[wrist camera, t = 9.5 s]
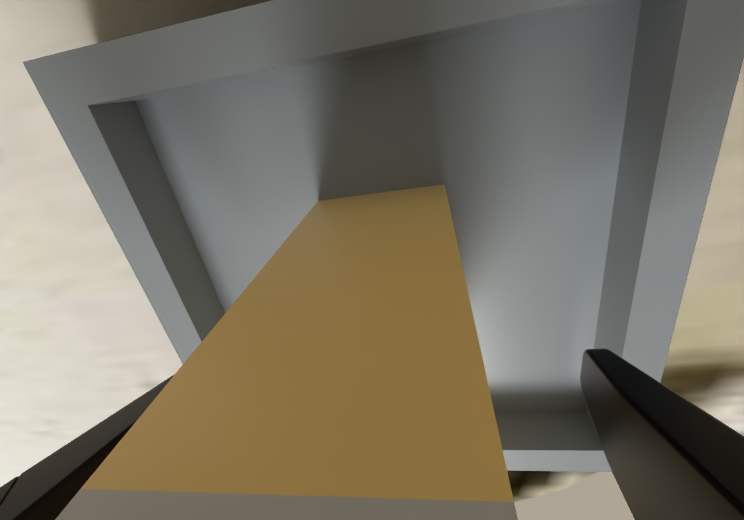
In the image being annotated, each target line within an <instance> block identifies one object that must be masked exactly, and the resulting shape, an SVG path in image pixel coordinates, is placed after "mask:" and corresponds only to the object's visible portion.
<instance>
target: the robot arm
mask: <svg viewBox="0 0 744 520" xmlns="http://www.w3.org/2000/svg"><path fill="white" fill-rule="evenodd" d="M174 375H175V374H174ZM174 375H173V376H174ZM173 376H171V377H170V378H168V379H167V380H165V381H164V382H162V383H161V384H159V385H158V386H156V387H154V388H153V389H151V390H150V391H148V392H147V393H145V394H144V395H142V396H141V397H139V398H137V399H136V400H134V401H133V402H131V403H130V404H128V405H127V406H125V407H124V408H122V409H121V410H119V411H117V412H116V413H114V414H113V415H111V416H110V417H108V418H107V419H105V420H104V421H102V422H100V423H99V424H97V425H96V426H94V427H93V428H91V429H90V430H88V431H87V432H85V433H83V434H82V435H80V436H79V437H77V438H76V439H74V440H73V441H71V442H70V443H68V444H67V445H65V446H63V447H62V448H60V449H59V450H57V451H56V452H54V453H53V454H51V455H50V456H48V457H46V458H45V459H43V460H42V461H40V462H39V463H37V464H36V465H34V466H33V467H31V468H30V469H28V470H26V471H25V472H23V473H22V474H21V475H20V477H15V478H14V479H12V480H11V481H9V482H8V483H6V484H5V485H3V486H2V487H0V520H55V519H56V518H57V517H58V516H59V514H60V513H61V512H62V511H63V510H64V508H65V507H66V506H67V505H68V503H69V502H70V501H71V500H72V499H73V497H74V496H75V495H76V494H77V493H78V491H79V490H80V489H81V488H82V486H83V485H84V484H85V483H86V482H87V480H88V479H89V478H90V477H91V476H92V474H93V473H94V472H95V471H96V470H97V468H98V467H99V466H100V465H101V463H102V462H103V461H104V460H105V459H106V457H107V456H108V455H109V454H110V453H111V451H112V450H113V449H114V448H115V446H116V445H117V444H118V443H119V442H120V440H121V439H122V438H123V437H124V436H125V434H126V433H127V432H128V431H129V430H130V428H131V427H132V426H133V425H134V423H135V422H136V421H137V420H138V419H139V417H140V416H141V415H142V414H143V413H144V411H145V410H146V409H147V408H148V406H149V405H150V404H151V403H152V402H153V400H154V399H155V398H156V397H157V396H158V394H159V393H160V392H161V391H162V390H163V388H164V387H165V386H166V385H167V383H168V382H169V381H170V380H171V379H172V377H173ZM580 383H581V388H582V391H583V394H584V397H585V400H586V402H587V405H588V408H589V411H590V414H591V417H592V420H593V422H594V425H595V428H596V431H597V434H598V437H599V439H600V442H601V445H602V448H603V451H604V453H605V456H606V459H607V461H608V463H609V466H610V468H611V470H612V472H613V475H614V477H615V479H616V481H617V483H618V485H619V487H620V489H621V491H622V493H623V496H624V498H625V500H626V502H627V504H628V506H629V508H630V510H631V512H632V514H633V517H634V519H635V520H744V436H742V435H741V434H739V433H738V432H736V431H735V430H733V429H732V428H730V427H728V426H727V425H725V424H724V423H722V422H721V421H719V420H718V419H716V418H714V417H713V416H711V415H710V414H708V413H707V412H705V411H704V410H702V409H700V408H699V407H697V406H696V405H694V404H693V403H691V402H690V401H688V400H686V399H685V398H683V397H682V396H680V395H679V394H677V393H676V392H674V391H672V390H671V389H669V388H668V387H666V386H665V385H663V384H662V383H660V382H658V381H657V380H655V379H654V378H652V377H651V376H649V375H648V374H646V373H644V372H643V371H641V370H640V369H638V368H637V367H635V366H634V365H632V364H630V363H629V362H627V361H626V360H624V359H623V358H621V357H620V356H618V355H616V354H615V353H613V352H612V351H610V350H608V349H605V348H597V349H586V350H585V351H584V353H583V357H582V366H581V374H580Z"/></svg>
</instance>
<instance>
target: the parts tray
mask: <svg viewBox="0 0 744 520" xmlns="http://www.w3.org/2000/svg"><path fill="white" fill-rule="evenodd" d="M743 57H744V0H271V1H267V2H263V3H259V4H255V5H251V6H247V7H243V8H239V9H234V10H230V11H226V12H222V13H218V14H214V15H210V16H206V17H202V18H198V19H194V20H190V21H186V22H182V23H178V24H174V25H170V26H166V27H162V28H158V29H154V30H150V31H146V32H142V33H138V34H134V35H130V36H126V37H122V38H118V39H114V40H110V41H106V42H102V43H97V44H93V45H89V46H85V47H81V48H77V49H73V50H69V51H65V52H61V53H57V54H53V55H49V56H45V57H41V58H37V59H33V60H29V61H25V62H23V64H24V65H25V67H26V69H27V71H28V73H29V75H30V77H31V79H32V80H33V82H34V84H35V86H36V88H37V90H38V92H39V94H40V96H41V97H42V99H43V101H44V103H45V105H46V107H47V109H48V111H49V113H50V114H51V116H52V118H53V120H54V122H55V124H56V126H57V128H58V130H59V131H60V133H61V135H62V137H63V139H64V141H65V143H66V145H67V147H68V148H69V150H70V152H71V154H72V156H73V158H74V160H75V162H76V163H77V165H78V167H79V169H80V171H81V173H82V175H83V177H84V179H85V180H86V182H87V184H88V186H89V188H90V190H91V192H92V194H93V196H94V197H95V199H96V201H97V203H98V205H99V207H100V209H101V211H102V213H103V214H104V216H105V218H106V220H107V222H108V224H109V226H110V228H111V230H112V231H113V233H114V235H115V237H116V239H117V241H118V243H119V245H120V246H121V248H122V250H123V252H124V254H125V256H126V258H127V260H128V262H129V263H130V265H131V267H132V269H133V271H134V273H135V275H136V277H137V279H138V280H139V282H140V284H141V286H142V288H143V290H144V292H145V294H146V296H147V297H148V299H149V301H150V303H151V305H152V307H153V309H154V311H155V313H156V314H157V316H158V318H159V320H160V322H161V324H162V326H163V328H164V329H165V331H166V333H167V335H168V337H169V339H170V341H171V343H172V345H173V346H174V348H175V350H176V352H177V354H178V356H179V358H180V360H181V362H182V363H183V364H184V363H185V362H186V360H187V359H188V358H189V357H190V356H191V354H192V353H193V352H194V351H195V350H196V348H197V347H198V346H199V345H200V343H201V342H202V341H203V340H204V339H205V337H206V336H207V335H208V334H209V333H210V331H211V330H212V329H213V328H214V326H215V325H216V324H217V323H218V322H219V320H220V319H221V318H222V317H223V316H224V314H225V313H226V312H227V311H228V310H229V308H230V307H231V306H232V305H233V303H234V302H235V301H236V300H237V299H238V297H239V296H240V295H241V294H242V293H243V291H244V290H245V289H246V288H247V286H248V285H249V284H250V283H251V282H252V280H253V279H254V278H255V277H256V276H257V274H258V273H259V272H260V271H261V270H262V268H263V267H264V266H265V265H266V263H267V262H268V261H269V260H270V259H271V257H272V256H273V255H274V254H275V253H276V251H277V250H278V249H279V248H280V246H281V245H282V244H283V243H284V242H285V240H286V239H287V238H288V237H289V236H290V234H291V233H292V232H293V231H294V229H295V228H296V227H297V226H298V225H299V223H300V222H301V221H302V220H303V219H304V217H305V216H306V215H307V214H308V213H309V211H310V210H311V209H312V208H313V206H314V205H315V204H316V203H317V202H318V201H321V200H329V199H337V198H344V197H352V196H359V195H367V194H374V193H382V192H390V191H397V190H405V189H412V188H420V187H427V186H435V185H442V184H445V188H446V193H447V197H448V202H449V206H450V211H451V216H452V220H453V225H454V229H455V234H456V239H457V243H458V248H459V252H460V257H461V262H462V266H463V271H464V275H465V280H466V285H467V289H468V294H469V298H470V303H471V308H472V312H473V317H474V321H475V326H476V331H477V335H478V340H479V344H480V349H481V354H482V358H483V363H484V367H485V372H486V377H487V381H488V386H489V390H490V395H491V400H492V404H493V409H494V413H495V418H496V423H497V427H498V432H499V436H500V441H501V446H502V450H503V455H504V459H505V464H506V469H507V470H518V471H586V472H612V470H611V468H610V466H609V463H608V461H607V459H606V456H605V453H604V451H603V448H602V445H601V442H600V439H599V437H598V434H597V431H596V428H595V425H594V422H593V420H592V417H591V414H590V411H589V408H588V405H587V402H586V400H585V397H584V394H583V391H582V388H581V383H580V374H581V366H582V357H583V353H584V351H585V350H586V349H597V348H605V349H608V350H610V351H612V352H613V353H615V354H616V355H618V356H620V357H621V358H623V359H624V360H626V361H627V362H629V363H630V364H632V365H634V366H635V367H637V368H638V369H640V370H641V371H643V372H644V373H646V374H648V375H649V376H651V377H652V378H654V379H655V380H657V381H658V382H661V378H662V374H663V370H664V366H665V362H666V358H667V354H668V350H669V346H670V343H671V339H672V335H673V331H674V327H675V323H676V319H677V315H678V311H679V307H680V303H681V300H682V296H683V292H684V288H685V284H686V280H687V276H688V272H689V268H690V264H691V261H692V257H693V253H694V249H695V245H696V241H697V237H698V233H699V229H700V225H701V221H702V218H703V214H704V210H705V206H706V202H707V198H708V194H709V190H710V186H711V182H712V178H713V175H714V171H715V167H716V163H717V159H718V155H719V151H720V147H721V143H722V139H723V136H724V132H725V128H726V124H727V120H728V116H729V112H730V108H731V104H732V100H733V96H734V93H735V89H736V85H737V81H738V77H739V73H740V69H741V65H742V61H743Z"/></svg>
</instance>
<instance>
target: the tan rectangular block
mask: <svg viewBox="0 0 744 520" xmlns="http://www.w3.org/2000/svg"><path fill="white" fill-rule="evenodd" d="M55 520H518V519H517V515H516V510H515V505H514V501H513V496H512V491H511V487H510V482H509V478H508V473H507V469H506V464H505V459H504V455H503V450H502V446H501V441H500V436H499V432H498V427H497V423H496V418H495V413H494V409H493V404H492V400H491V395H490V390H489V386H488V381H487V377H486V372H485V367H484V363H483V358H482V354H481V349H480V344H479V340H478V335H477V331H476V326H475V321H474V317H473V312H472V308H471V303H470V298H469V294H468V289H467V285H466V280H465V275H464V271H463V266H462V262H461V257H460V252H459V248H458V243H457V239H456V234H455V229H454V225H453V220H452V216H451V211H450V206H449V202H448V197H447V193H446V188H445V184H442V185H435V186H427V187H420V188H412V189H405V190H397V191H390V192H382V193H374V194H367V195H359V196H352V197H344V198H337V199H329V200H321V201H318V202H317V203H316V204H315V205H314V206H313V208H312V209H311V210H310V211H309V213H308V214H307V215H306V216H305V217H304V219H303V220H302V221H301V222H300V223H299V225H298V226H297V227H296V228H295V229H294V231H293V232H292V233H291V234H290V236H289V237H288V238H287V239H286V240H285V242H284V243H283V244H282V245H281V246H280V248H279V249H278V250H277V251H276V253H275V254H274V255H273V256H272V257H271V259H270V260H269V261H268V262H267V263H266V265H265V266H264V267H263V268H262V270H261V271H260V272H259V273H258V274H257V276H256V277H255V278H254V279H253V280H252V282H251V283H250V284H249V285H248V286H247V288H246V289H245V290H244V291H243V293H242V294H241V295H240V296H239V297H238V299H237V300H236V301H235V302H234V303H233V305H232V306H231V307H230V308H229V310H228V311H227V312H226V313H225V314H224V316H223V317H222V318H221V319H220V320H219V322H218V323H217V324H216V325H215V326H214V328H213V329H212V330H211V331H210V333H209V334H208V335H207V336H206V337H205V339H204V340H203V341H202V342H201V343H200V345H199V346H198V347H197V348H196V350H195V351H194V352H193V353H192V354H191V356H190V357H189V358H188V359H187V360H186V362H185V363H184V364H183V365H182V366H181V368H180V369H179V370H178V371H177V373H176V374H175V375H174V376H173V377H172V379H171V380H170V381H169V382H168V383H167V385H166V386H165V387H164V388H163V390H162V391H161V392H160V393H159V394H158V396H157V397H156V398H155V399H154V400H153V402H152V403H151V404H150V405H149V406H148V408H147V409H146V410H145V411H144V413H143V414H142V415H141V416H140V417H139V419H138V420H137V421H136V422H135V423H134V425H133V426H132V427H131V428H130V430H129V431H128V432H127V433H126V434H125V436H124V437H123V438H122V439H121V440H120V442H119V443H118V444H117V445H116V446H115V448H114V449H113V450H112V451H111V453H110V454H109V455H108V456H107V457H106V459H105V460H104V461H103V462H102V463H101V465H100V466H99V467H98V468H97V470H96V471H95V472H94V473H93V474H92V476H91V477H90V478H89V479H88V480H87V482H86V483H85V484H84V485H83V486H82V488H81V489H80V490H79V491H78V493H77V494H76V495H75V496H74V497H73V499H72V500H71V501H70V502H69V503H68V505H67V506H66V507H65V508H64V510H63V511H62V512H61V513H60V514H59V516H58V517H57V518H56V519H55Z"/></svg>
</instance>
